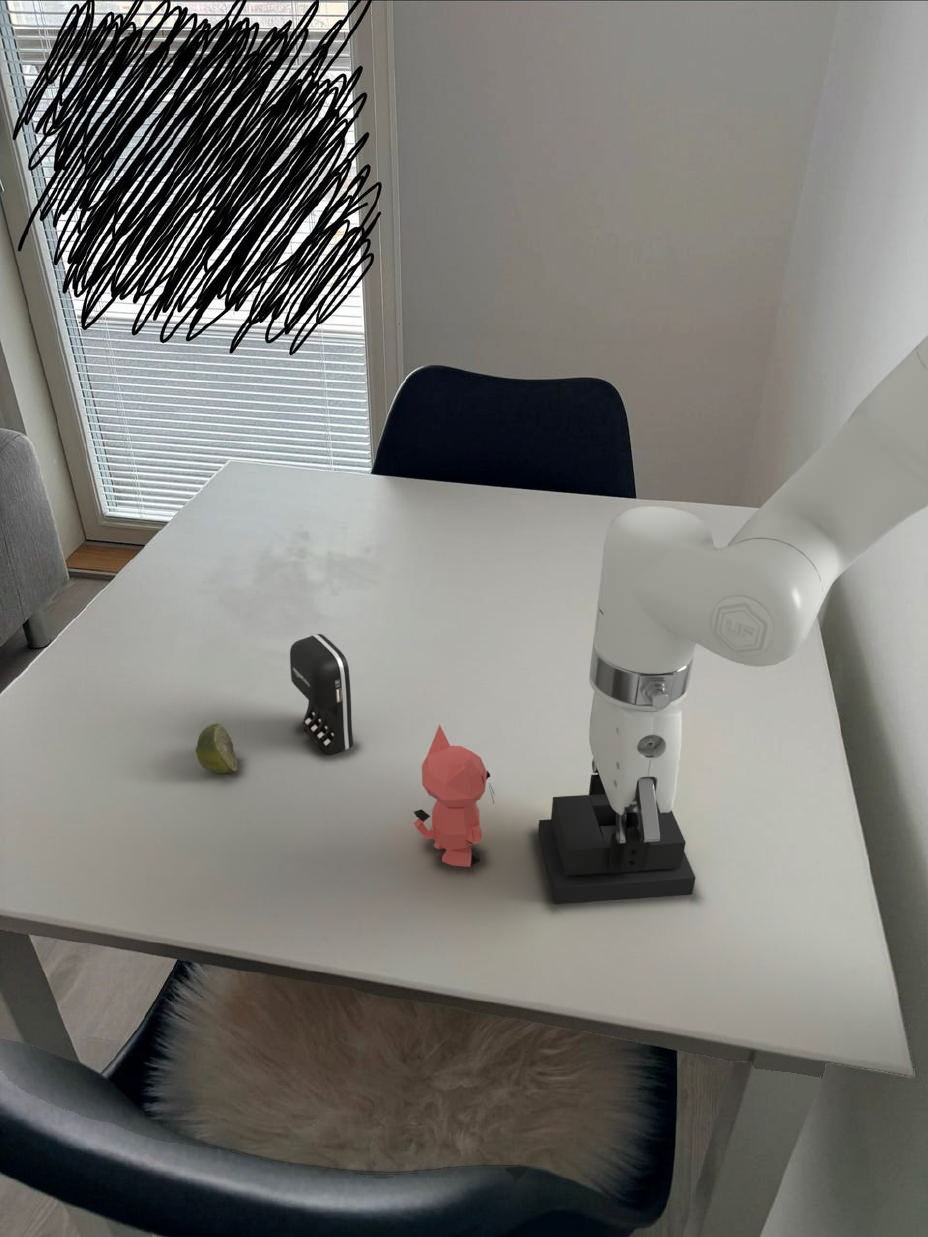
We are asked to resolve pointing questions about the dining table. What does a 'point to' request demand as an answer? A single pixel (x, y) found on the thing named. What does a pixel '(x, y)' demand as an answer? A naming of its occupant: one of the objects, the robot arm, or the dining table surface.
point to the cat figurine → (453, 800)
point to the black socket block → (590, 849)
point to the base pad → (609, 876)
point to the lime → (216, 750)
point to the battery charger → (323, 691)
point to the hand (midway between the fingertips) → (615, 837)
